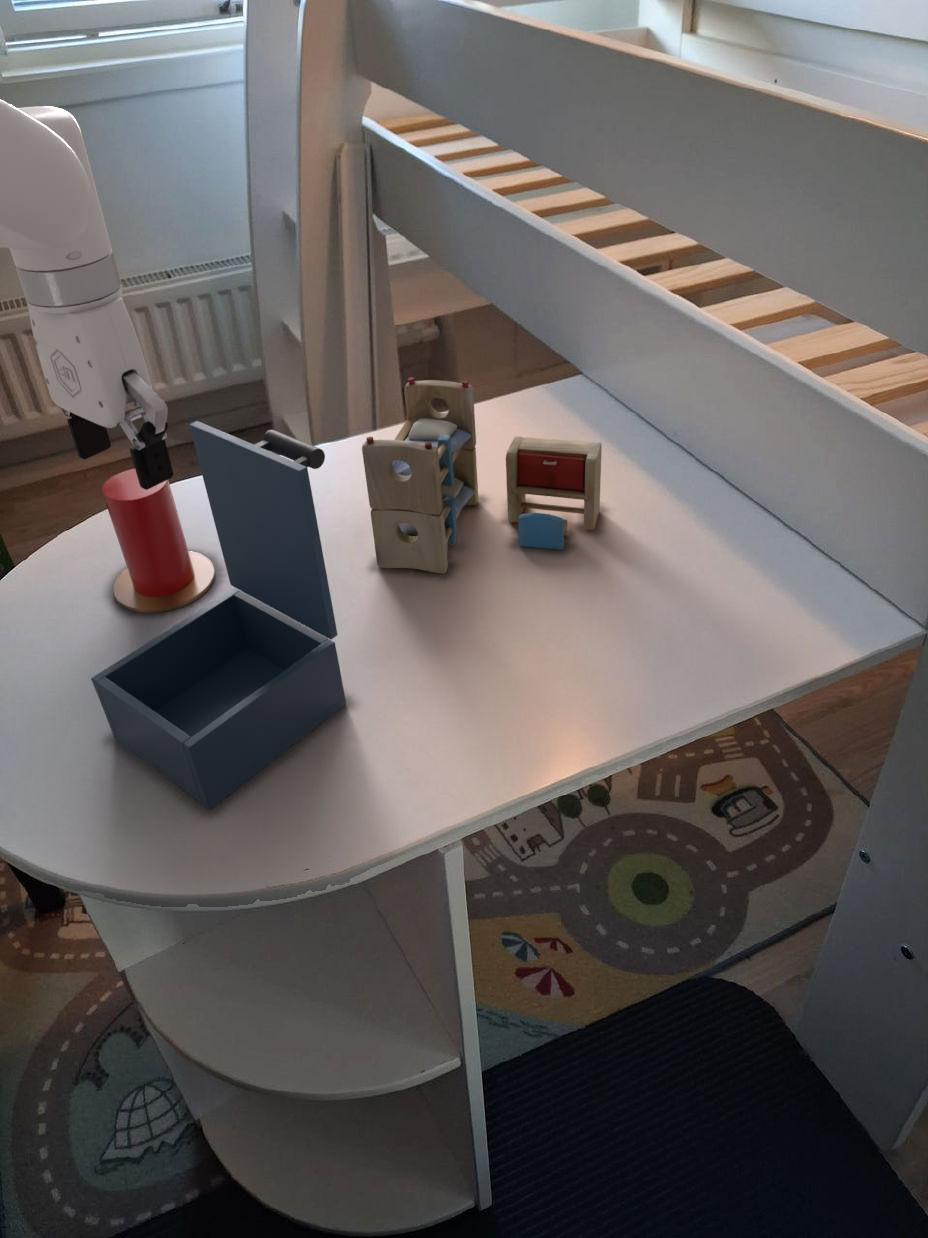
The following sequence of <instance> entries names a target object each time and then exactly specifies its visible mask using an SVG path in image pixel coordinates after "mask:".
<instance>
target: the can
mask: <svg viewBox="0 0 928 1238" xmlns="http://www.w3.org/2000/svg"><path fill="white" fill-rule="evenodd" d="M101 493H102V496H103V499H104V503H105V505H106V509H107V512H108V515H109V518H110V521H111V523H112V526H113V529H114V532H115V535H116V538H117V541H118V544H119V547H120V551H121V553H122V557H123V559H124V562H125V565H126V568H128V571H129V574H130V577H131V580H132V583H133V586H134V589H135V590H136V591H137V592H138V593H140V594H142V595H144V596H149V597H160V596H166V595H170V594H173V593H176V592H178V591H180V590H182V589H183V588H185V587H186V586H187V585H188V584H189V583H190V582H191V581H192V580H193V577H194V569H193V565H192V562H191V558H190V555H189V551H190V550H189V548H188V544H187V541H186V538H185V534H184V530H183V527H182V524H181V523H182V522H181V520H180V517H179V513H178V510H177V506H176V502H175V499H174V495H173V491H172V488H171V484H170V481H169V479H168V480H166V481H164V482H162V483H160V484H158V485H156V486H154V487H152V488H150V489H147V490H146V489H143V488H141V487H140V484H139V480H138V477H137V473H136V470H135V468H131V469H128V470H124V471H122V472H119V473H116V474H115V475H113V476H111V477H109V479H107V480H106V481H105V482H104V484H103V485H102V487H101Z"/></svg>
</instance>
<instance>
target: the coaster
mask: <svg viewBox="0 0 928 1238" xmlns="http://www.w3.org/2000/svg"><path fill="white" fill-rule="evenodd" d="M188 551H189V555H190V558H191V562H192V565H193V569H194V577H193V580H192V581H191V582H190V583H189V584H188V585H187V586H186V587H185V588H183V589H182V590H180V591H178V592H176V593H173V594H170V595H166V596H160V597H149V596H144V595H142V594H140V593H138V592H137V591H136V590H135V589H134V586H133V583H132V580H131V577H130V574H129V571H128V568H127V567H125V568H124V569H123V570H122V571H121V572H120V573H119V575H117V577H116V579H115V581H114V583H113V586H112V593H113V596H114V599H115V600H116V602H117V603H118V604H119V605H120V606H121V607H123V608H124V609H127V610H129V611H132V612H137V613H143V614H144V613H145V614H153V613H162V612H169V611H173V610H175V609H179V608H181V607H184V606H186V605H188V604H190V603H192V602H194V601H196V600H198V599H199V598H201V597H202V596H203V595H204V594H206V592H207V591H208V590H209V589H210V588H211V587H212V585H213V583H214V582H215V577H216V569H215V566H214V564H213V562H212V560H210V558H208V557H207V556H205V555H203V554H202V553H200V552H195V551H190V550H188Z"/></svg>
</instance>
